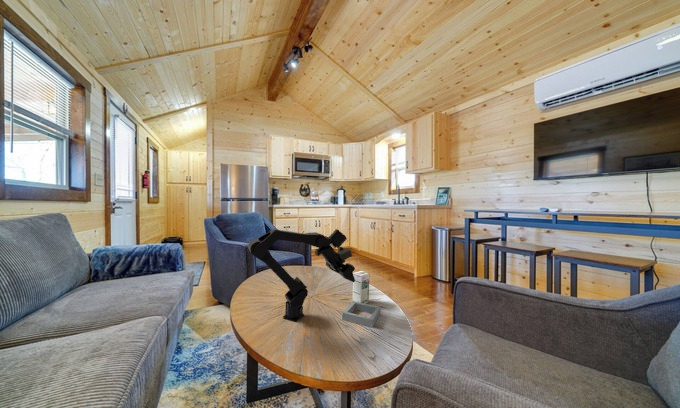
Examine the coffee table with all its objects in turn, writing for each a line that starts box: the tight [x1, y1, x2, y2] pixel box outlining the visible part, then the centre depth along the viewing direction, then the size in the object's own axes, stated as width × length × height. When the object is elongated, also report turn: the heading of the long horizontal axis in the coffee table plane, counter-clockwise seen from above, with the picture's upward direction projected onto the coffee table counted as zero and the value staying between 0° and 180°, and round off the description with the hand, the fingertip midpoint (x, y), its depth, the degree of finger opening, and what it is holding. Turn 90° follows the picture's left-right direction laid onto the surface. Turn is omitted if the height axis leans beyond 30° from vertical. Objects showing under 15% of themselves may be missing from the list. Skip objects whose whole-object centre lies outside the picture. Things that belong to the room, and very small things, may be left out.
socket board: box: [341, 300, 382, 328], centre depth 105 cm, size 13×13×3 cm
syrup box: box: [352, 270, 370, 304], centre depth 120 cm, size 6×6×14 cm
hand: (349, 278), depth 115 cm, fingers open, 9 cm apart
